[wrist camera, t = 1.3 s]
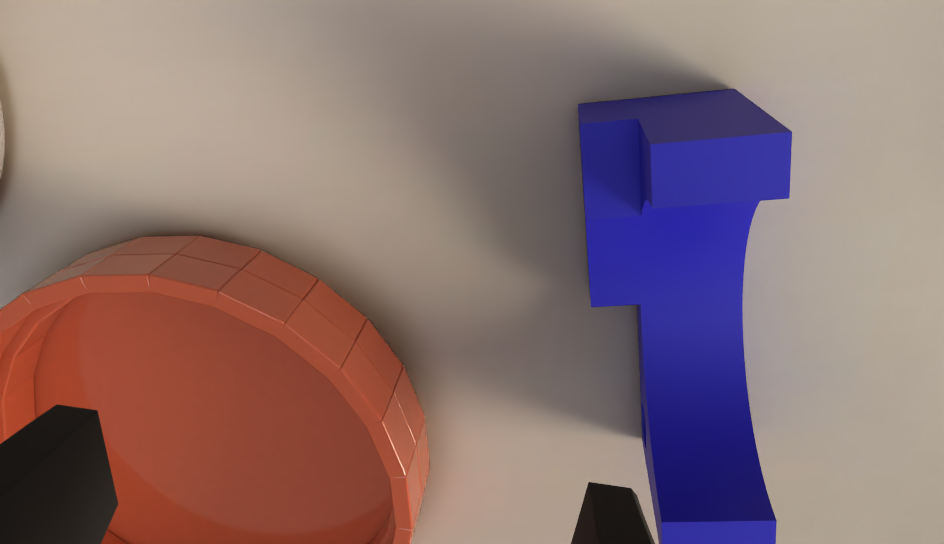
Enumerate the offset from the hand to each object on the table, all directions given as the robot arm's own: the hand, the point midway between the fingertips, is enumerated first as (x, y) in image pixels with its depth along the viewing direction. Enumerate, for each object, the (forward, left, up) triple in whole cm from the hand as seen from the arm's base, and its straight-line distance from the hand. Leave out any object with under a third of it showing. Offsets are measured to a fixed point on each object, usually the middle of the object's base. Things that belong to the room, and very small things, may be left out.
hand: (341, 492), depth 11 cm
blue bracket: (-7, -1, -14) cm, 16 cm away
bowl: (+4, +12, -14) cm, 19 cm away
